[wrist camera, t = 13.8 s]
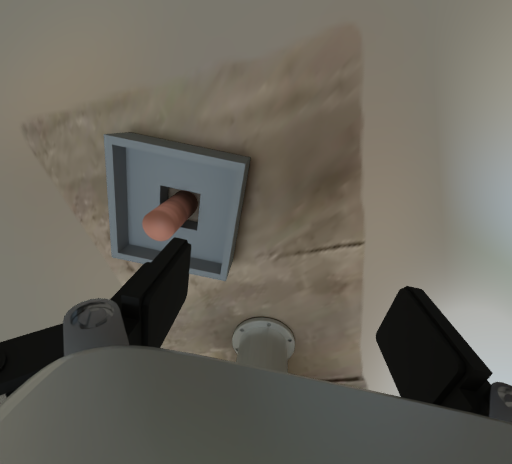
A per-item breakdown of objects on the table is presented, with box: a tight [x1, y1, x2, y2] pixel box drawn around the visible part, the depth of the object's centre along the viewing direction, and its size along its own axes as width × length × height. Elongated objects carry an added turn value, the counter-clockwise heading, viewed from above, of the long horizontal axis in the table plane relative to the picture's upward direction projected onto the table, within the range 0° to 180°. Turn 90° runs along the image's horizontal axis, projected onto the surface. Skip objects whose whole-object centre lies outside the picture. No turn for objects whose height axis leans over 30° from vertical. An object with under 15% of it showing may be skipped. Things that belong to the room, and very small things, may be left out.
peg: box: [142, 191, 198, 241], centre depth 36 cm, size 4×4×10 cm
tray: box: [104, 132, 251, 281], centre depth 37 cm, size 18×18×6 cm
